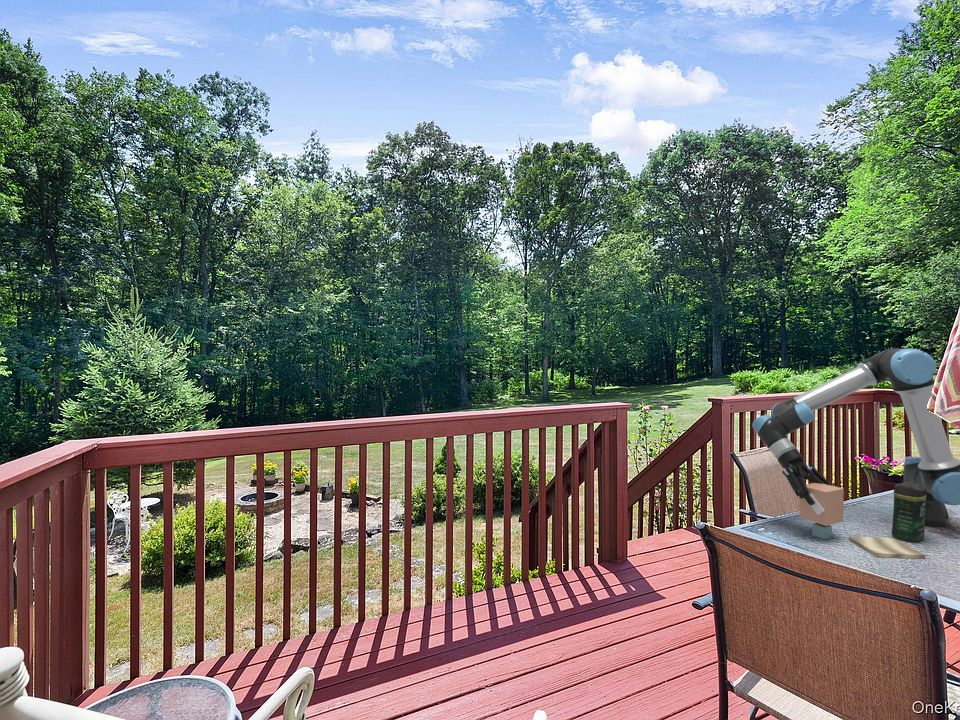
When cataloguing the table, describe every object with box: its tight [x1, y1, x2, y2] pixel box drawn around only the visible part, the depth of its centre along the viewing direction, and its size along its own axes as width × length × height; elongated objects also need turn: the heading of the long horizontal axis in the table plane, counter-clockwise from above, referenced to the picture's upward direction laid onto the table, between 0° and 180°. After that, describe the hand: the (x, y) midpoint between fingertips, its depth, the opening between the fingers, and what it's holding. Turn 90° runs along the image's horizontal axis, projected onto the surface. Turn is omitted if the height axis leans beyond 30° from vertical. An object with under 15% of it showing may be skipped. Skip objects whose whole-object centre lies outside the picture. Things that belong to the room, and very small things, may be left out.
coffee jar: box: [891, 481, 926, 543], centre depth 182 cm, size 10×8×19 cm
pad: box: [848, 536, 926, 560], centre depth 172 cm, size 14×14×1 cm
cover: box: [798, 482, 845, 526], centre depth 183 cm, size 9×9×11 cm
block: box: [811, 522, 833, 540], centre depth 183 cm, size 4×4×4 cm
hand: (830, 510), depth 180 cm, fingers closed on cover, 9 cm apart
